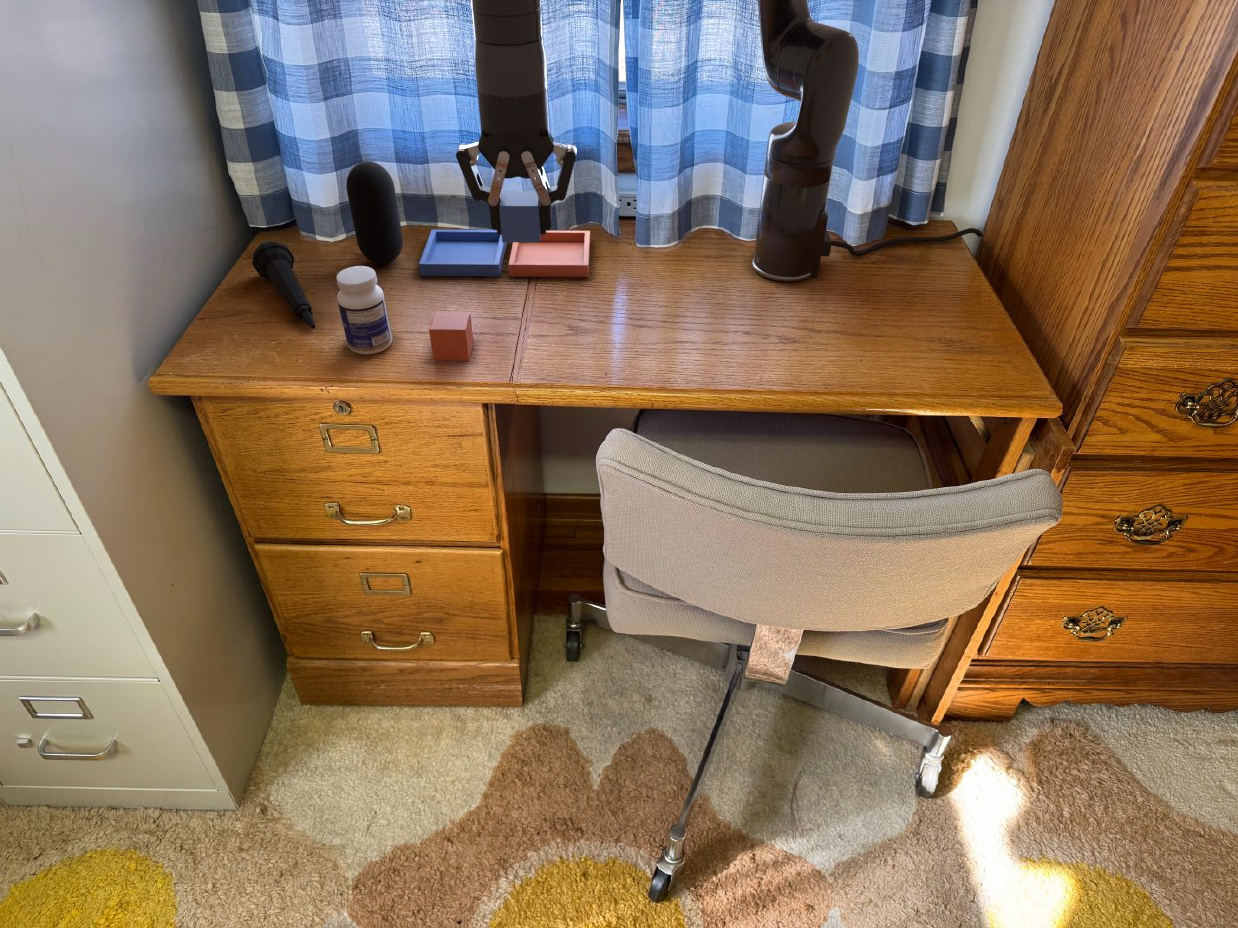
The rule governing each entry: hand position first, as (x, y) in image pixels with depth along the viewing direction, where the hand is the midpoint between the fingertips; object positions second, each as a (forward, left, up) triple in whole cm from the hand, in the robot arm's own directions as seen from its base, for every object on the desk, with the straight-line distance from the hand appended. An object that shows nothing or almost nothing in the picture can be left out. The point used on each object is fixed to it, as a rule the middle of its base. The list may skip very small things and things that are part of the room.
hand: (522, 231), depth 102 cm
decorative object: (+24, -21, -15) cm, 35 cm away
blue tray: (+12, -23, -15) cm, 29 cm away
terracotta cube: (+10, +3, -15) cm, 18 cm away
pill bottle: (+21, +2, -15) cm, 26 cm away
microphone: (+35, -10, -15) cm, 39 cm away
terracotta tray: (-1, -23, -15) cm, 27 cm away
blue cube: (0, 0, 0) cm, 0 cm away
